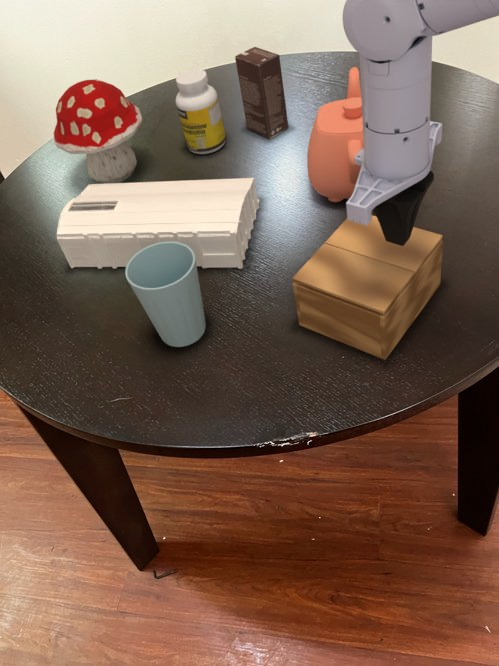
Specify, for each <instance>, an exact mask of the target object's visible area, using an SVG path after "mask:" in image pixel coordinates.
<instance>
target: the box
mask: <svg viewBox="0 0 499 666" xmlns="http://www.w3.org/2000/svg"><path fill="white" fill-rule="evenodd" d="M234 59H235V64H236V71H237V76H238V82H239V89H240V94H241V100H242V106H243V111H244V117H245V123H246V129H248V130H250V131H252V132H254V133H257V134H259V135H261V136H263V137H265V138H267V139H268V140H269V139H274V138H275V137H276V136H278V135H280V134H281V133H283V132H285V131H286V130H288V129H289V120H288V111H287V104H286V96H285V89H284V88H285V87H284V82H283V74H282V65H281V57H280V54H278V53H275V52H272V51H269V50H266V49H264V48H261V47H258V46H254V47H251V48H249V49H247V50H245V51H242V52H240V53H238V54H237V55H235V56H234Z"/></svg>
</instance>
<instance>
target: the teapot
mask: <svg viewBox="0 0 499 666" xmlns="http://www.w3.org/2000/svg"><path fill="white" fill-rule="evenodd" d="M358 68H359V67H356V66H353V67H351V68H350V70H349V72H348V83H347V93H346V98H345V99H339V100H334V101H330V102H328V103H325V104H323V105H322V106H321V107H319V109H318V111H317V113H316V117H315V120H314V123H313V126H312V130H311V132H310V137H309V142H308V147H307V157H306V159H307V161H306V162H307V165H306V166H307V175H308V180H309V182H310V185H311V186H312V187H313V190H315V191H316V192H317V193H318V194H319V195H321V196H323V197H327V199H328V201H330V202H332V203H338V202H341V201H343V200H344V199H346V200H349V199H350V197H351V196H352V194H353V192H354V189H355V186H356V182H357V179H358V176H359V173H360V169H361V166H360V165H357V164H355V158H354V157H355V155H356V154H357V153H358V152H359V151H360V150H361V149H363V148H364V137H363V120H362V101H361V81H360V69H358Z"/></svg>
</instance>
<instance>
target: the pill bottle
mask: <svg viewBox="0 0 499 666" xmlns="http://www.w3.org/2000/svg"><path fill="white" fill-rule="evenodd" d="M175 82H176V88H177V89H178V92H177V94H176V96H175V106H176V109H177V114H178V117H179V121H180V125H181V129H182V133H183V136H184V139H185V140H184V141H185V144H186V147H187V149H188V150H189V151H190V152H191V153H192V154H197V155H208V154H212V153H215V152H217V151H219V150H220V149H221V148H223V146H225V143H226V142H227V135H226V130H225V126H224V121H223V116H222V110H221V106H220V102H219V97H218V93H217V91H216V89H215V88H214V87H213V86H211V85H210V84H209V78H208V74H207V72H206V70H205V69H201V68H192V69H191V68H190V69H187V70H184V71H182V72H180V73H179V74H178V75H177V76H176V77H175Z"/></svg>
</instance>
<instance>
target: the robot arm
mask: <svg viewBox="0 0 499 666" xmlns="http://www.w3.org/2000/svg"><path fill="white" fill-rule="evenodd" d="M496 17H499V0H345V2H344V5H343V9H342V26H343V30H344V34H345V36H346V38H347V40H348V42H349V44H350V45H351V46H352V48H353V49H354V50H355V51H356V52H357V53H358V62H359V64H358V65H359V78H360V87H361V101H362V120H363V137H364V148H363V149H361V150H360V151H359V152H358V153H357V154H356V155H355V157H354V158H355V164H357V165H360V166H361V169H360V173H359V176H358V179H357V182H356V186H355V189H354V192H353V194H352V196H351V197H350V199H347V201H346V202H345V207H346V208H345V209H346V219H347V220H349V221H352V222H355V223H359V224H363V225H366V226H367V225H368V224H369V223H370V222H371V220H372V215H373V213H374V216H376V217H377V219H378V221H379V223H380V226H381V229H382V232H383V234H384V237H385V240H386V241H387V242H390V243H394V244H397V245H400V246H404V245H405V243H406V242H407V241H408V240H409V238H410V236H411V233H412V230H413V227H415V222H416V219H417V217H418V213H419V210H420V206H421V204H422V202H423V199H424V197H425V195H426V193H427V192H428V190H429V188H430V186H431V185H432V183H433V182H434V179H435V174H434V172H433V171H432V170H431V169H432V164H433V159H434V158H433V157H434V154H435V148H436V146H439V144H440V143H441V142H442V140H443V139H442V138H443V123H442V122H438V121H432V120H431V102H432V101H431V100H432V99H431V98H432V97H431V95H432V71H433V70H432V67H433V37H434V36H440V35H443V34H446V33H449V32H452V31H455V30H459V29H461V28H465V27H467V26H470V25H471V26H472V25H473V24H477V23H480V22H483V21H486V20H490V19H492V18H496Z"/></svg>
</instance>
